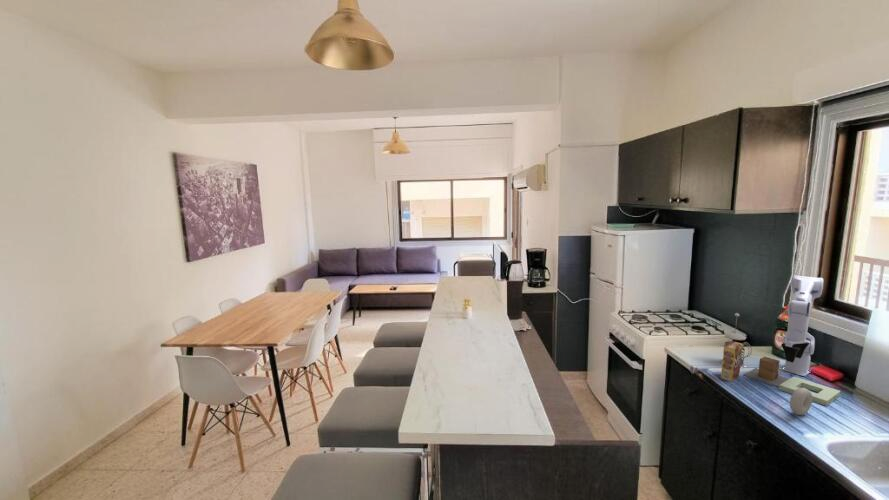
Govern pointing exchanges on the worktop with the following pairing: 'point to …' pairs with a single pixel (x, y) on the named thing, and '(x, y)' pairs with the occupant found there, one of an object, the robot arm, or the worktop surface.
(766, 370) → the walnut block
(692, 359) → the worktop surface
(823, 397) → the pocket holder
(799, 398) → the donut
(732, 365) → the candy box
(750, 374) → the rubber mat
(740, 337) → the french press
